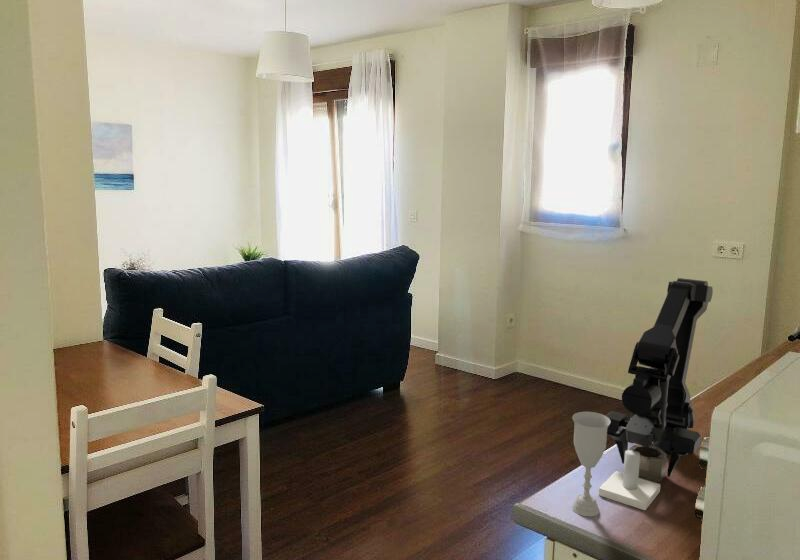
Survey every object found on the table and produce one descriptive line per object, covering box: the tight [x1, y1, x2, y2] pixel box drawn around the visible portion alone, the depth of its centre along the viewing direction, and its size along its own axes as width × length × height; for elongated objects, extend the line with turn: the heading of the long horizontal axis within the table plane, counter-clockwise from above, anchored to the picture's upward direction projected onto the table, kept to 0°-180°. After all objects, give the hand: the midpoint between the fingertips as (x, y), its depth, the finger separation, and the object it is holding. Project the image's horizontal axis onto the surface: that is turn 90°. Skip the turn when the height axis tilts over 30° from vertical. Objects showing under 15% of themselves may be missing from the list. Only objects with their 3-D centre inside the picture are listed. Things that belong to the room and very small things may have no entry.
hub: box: [628, 444, 668, 483], centre depth 135 cm, size 7×7×5 cm
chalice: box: [571, 411, 611, 517], centre depth 120 cm, size 7×7×18 cm
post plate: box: [598, 449, 662, 511], centre depth 127 cm, size 9×9×8 cm
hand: (646, 469), depth 135 cm, fingers open, 9 cm apart
